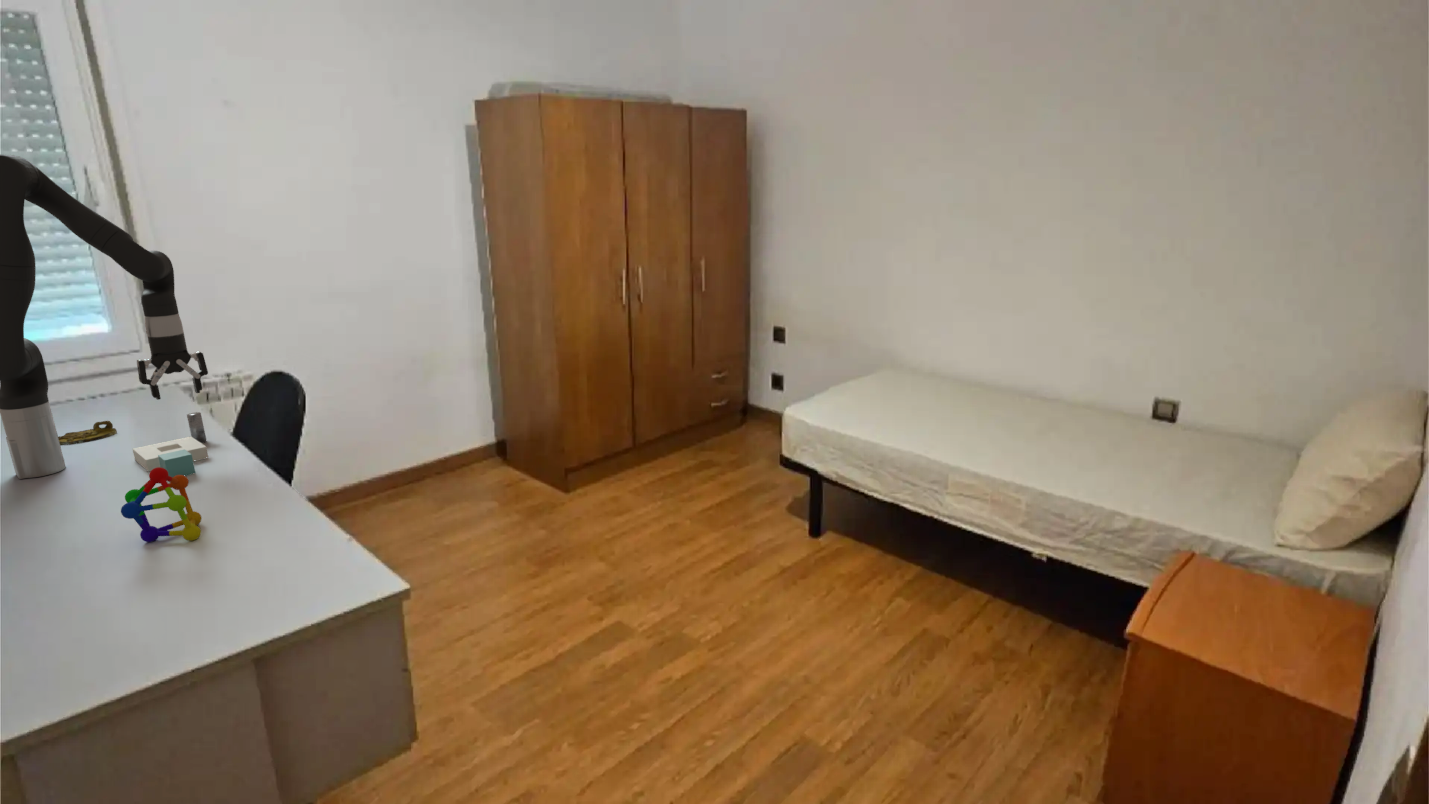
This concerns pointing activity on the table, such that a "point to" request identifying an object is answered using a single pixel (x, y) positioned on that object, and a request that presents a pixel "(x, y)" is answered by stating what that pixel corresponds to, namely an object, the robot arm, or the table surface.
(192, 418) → the peg
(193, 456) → the board
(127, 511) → the educational toy
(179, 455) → the frosted teal cube
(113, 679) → the table surface
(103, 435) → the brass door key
